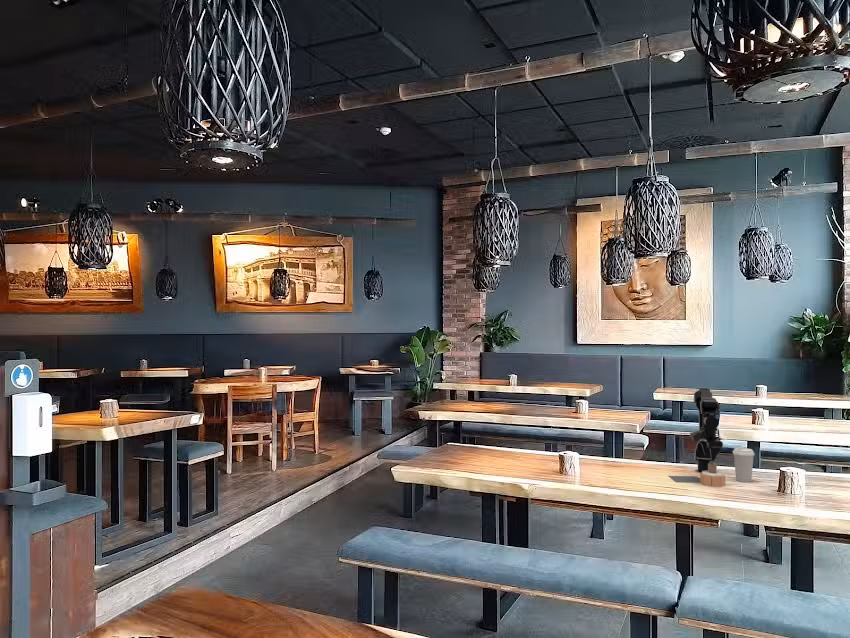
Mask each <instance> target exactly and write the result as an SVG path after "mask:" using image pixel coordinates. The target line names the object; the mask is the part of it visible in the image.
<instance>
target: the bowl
mask: <svg viewBox="0 0 850 638" xmlns="http://www.w3.org/2000/svg"><path fill="white" fill-rule="evenodd" d="M699 478H700V483H699V484H701V485H702V486H705V487H706V486H707V487H712V488H721V487H722V488H723V487H725V486H726V475H725V474H723V476H721V477H711V476H705V475H703V474H702V473H699Z"/></svg>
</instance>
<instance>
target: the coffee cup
mask: <svg viewBox="0 0 850 638" xmlns="http://www.w3.org/2000/svg"><path fill="white" fill-rule="evenodd" d="M732 454H733V459H734V460H733V461H734V470H735V472H734V473H735V480H736V481H737V482H740V483H752V480H753V479H752V478H753V468H754V467H753V465H754V456H755V452H754V450H753V449H752V448H745V447H735V448H734V449H733V450H732Z"/></svg>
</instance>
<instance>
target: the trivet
mask: <svg viewBox="0 0 850 638" xmlns="http://www.w3.org/2000/svg"><path fill="white" fill-rule="evenodd" d="M667 477H669V478H670V479H671V480H672V481H673V482H675V483H683V484H684V483H685V484H688V483H689V484H690V483H691V484H701V483H700V476H695V475H693V476H692V475H667Z"/></svg>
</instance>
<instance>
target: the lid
mask: <svg viewBox="0 0 850 638" xmlns="http://www.w3.org/2000/svg"><path fill="white" fill-rule="evenodd" d="M702 474H703V475H705V476H711V477H721V476H723V475H724V472H722V471H718V470H717V463H715V462H710V463H708V470H705V471H702Z"/></svg>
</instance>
